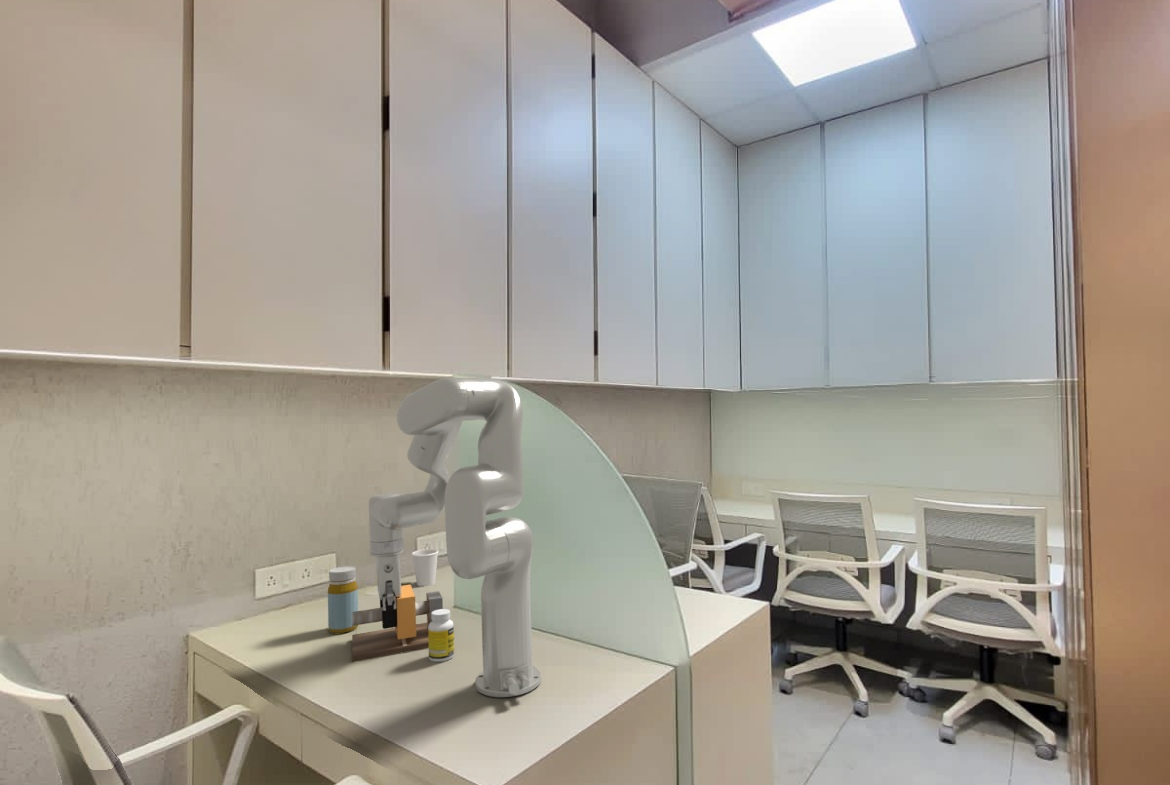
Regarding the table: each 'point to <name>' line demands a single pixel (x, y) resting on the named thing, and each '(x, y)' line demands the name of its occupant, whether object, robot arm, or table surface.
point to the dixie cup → (425, 566)
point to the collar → (406, 613)
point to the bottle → (342, 599)
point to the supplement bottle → (441, 636)
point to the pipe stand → (392, 631)
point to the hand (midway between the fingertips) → (388, 620)
